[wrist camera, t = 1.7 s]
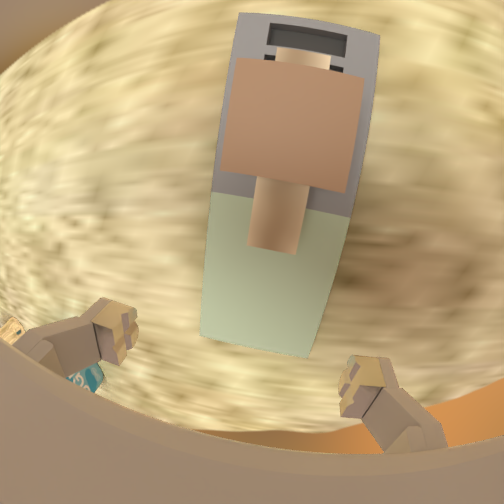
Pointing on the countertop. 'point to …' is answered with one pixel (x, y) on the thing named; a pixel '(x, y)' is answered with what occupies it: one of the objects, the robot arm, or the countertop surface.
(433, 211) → the countertop surface
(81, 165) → the countertop surface
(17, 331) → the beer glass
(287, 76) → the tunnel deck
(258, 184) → the birch bar
